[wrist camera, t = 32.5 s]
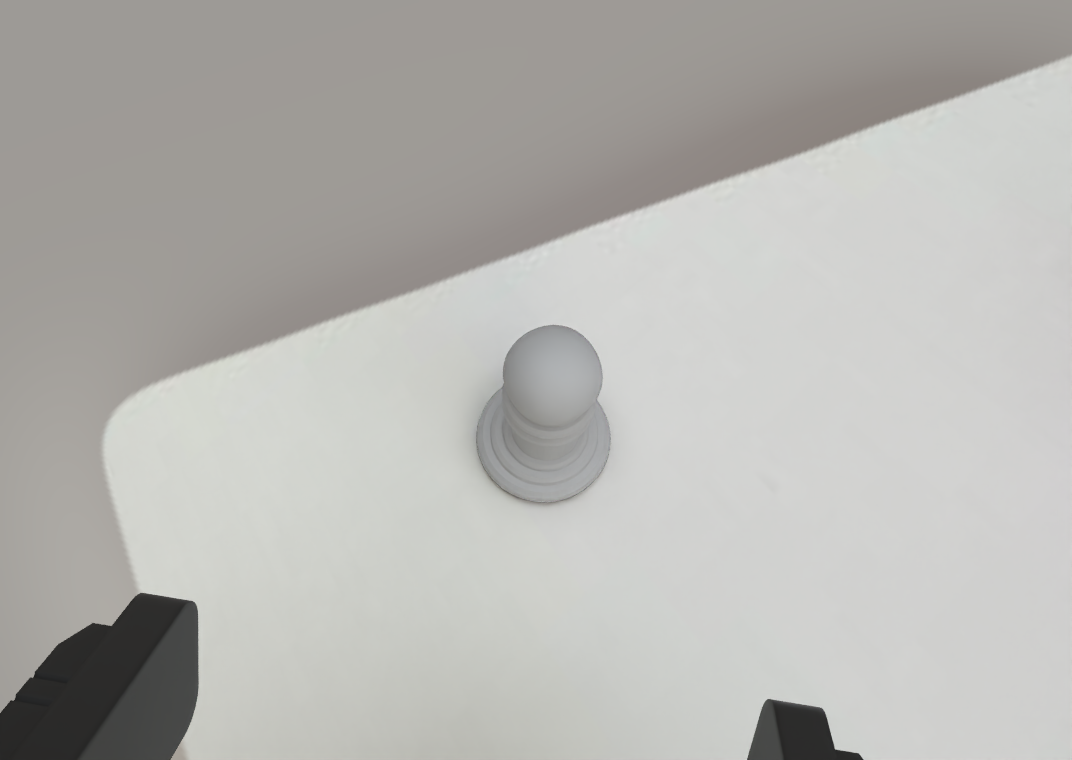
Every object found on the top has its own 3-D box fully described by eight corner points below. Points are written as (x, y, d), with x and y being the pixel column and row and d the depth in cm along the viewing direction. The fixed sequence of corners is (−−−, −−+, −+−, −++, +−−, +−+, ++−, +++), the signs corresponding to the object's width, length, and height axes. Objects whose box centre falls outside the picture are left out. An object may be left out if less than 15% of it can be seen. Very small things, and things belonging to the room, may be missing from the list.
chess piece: (633, 467, 39) (667, 385, 31) (515, 529, 38) (517, 462, 30) (568, 358, 41) (583, 252, 32) (454, 415, 40) (439, 321, 31)
